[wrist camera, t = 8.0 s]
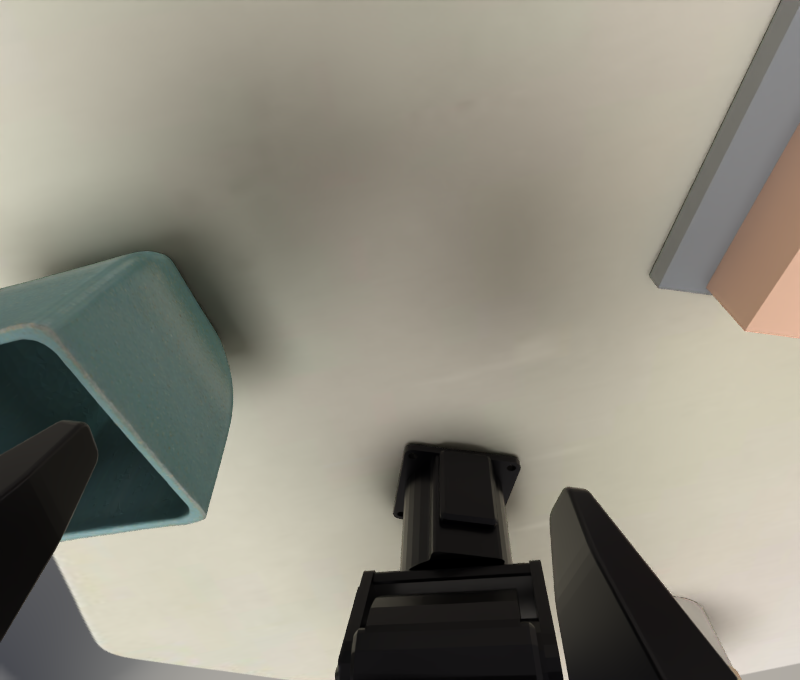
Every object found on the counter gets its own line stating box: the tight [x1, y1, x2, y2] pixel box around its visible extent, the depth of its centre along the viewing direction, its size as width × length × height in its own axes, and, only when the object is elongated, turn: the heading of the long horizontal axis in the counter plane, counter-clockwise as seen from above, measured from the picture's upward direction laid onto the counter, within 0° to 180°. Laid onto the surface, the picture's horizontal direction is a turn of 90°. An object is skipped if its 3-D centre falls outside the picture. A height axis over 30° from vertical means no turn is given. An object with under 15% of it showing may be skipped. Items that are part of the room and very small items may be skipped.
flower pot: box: [0, 251, 233, 542], centre depth 19 cm, size 9×9×9 cm
